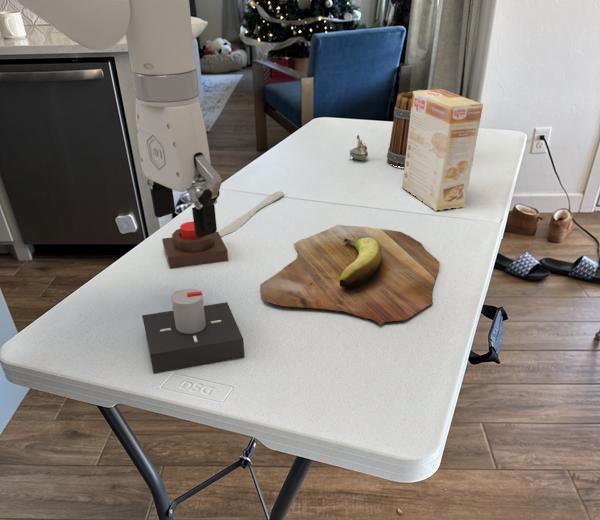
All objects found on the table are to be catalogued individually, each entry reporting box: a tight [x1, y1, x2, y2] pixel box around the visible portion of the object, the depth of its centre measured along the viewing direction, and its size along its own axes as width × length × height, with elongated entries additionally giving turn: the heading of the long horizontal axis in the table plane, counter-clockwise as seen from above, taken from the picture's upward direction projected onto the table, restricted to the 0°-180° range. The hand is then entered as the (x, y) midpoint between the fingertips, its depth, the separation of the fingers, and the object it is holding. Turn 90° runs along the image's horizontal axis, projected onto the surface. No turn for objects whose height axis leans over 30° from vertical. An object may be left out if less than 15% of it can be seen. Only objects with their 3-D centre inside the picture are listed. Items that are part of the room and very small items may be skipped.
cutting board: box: [259, 224, 441, 326], centre depth 96 cm, size 35×27×4 cm
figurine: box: [349, 134, 369, 161], centre depth 142 cm, size 5×4×6 cm
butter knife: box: [217, 191, 285, 237], centre depth 115 cm, size 1×27×3 cm
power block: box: [161, 228, 229, 270], centre depth 100 cm, size 10×8×4 cm
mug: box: [386, 89, 422, 167], centre depth 139 cm, size 16×11×15 cm
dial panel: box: [141, 301, 245, 374], centre depth 78 cm, size 12×10×3 cm
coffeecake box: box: [401, 88, 484, 212], centre depth 117 cm, size 15×7×20 cm, turn 20°
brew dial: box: [170, 288, 206, 334], centre depth 76 cm, size 4×4×5 cm
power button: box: [179, 221, 202, 240], centre depth 98 cm, size 4×4×2 cm
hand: (185, 224), depth 80 cm, fingers open, 9 cm apart
